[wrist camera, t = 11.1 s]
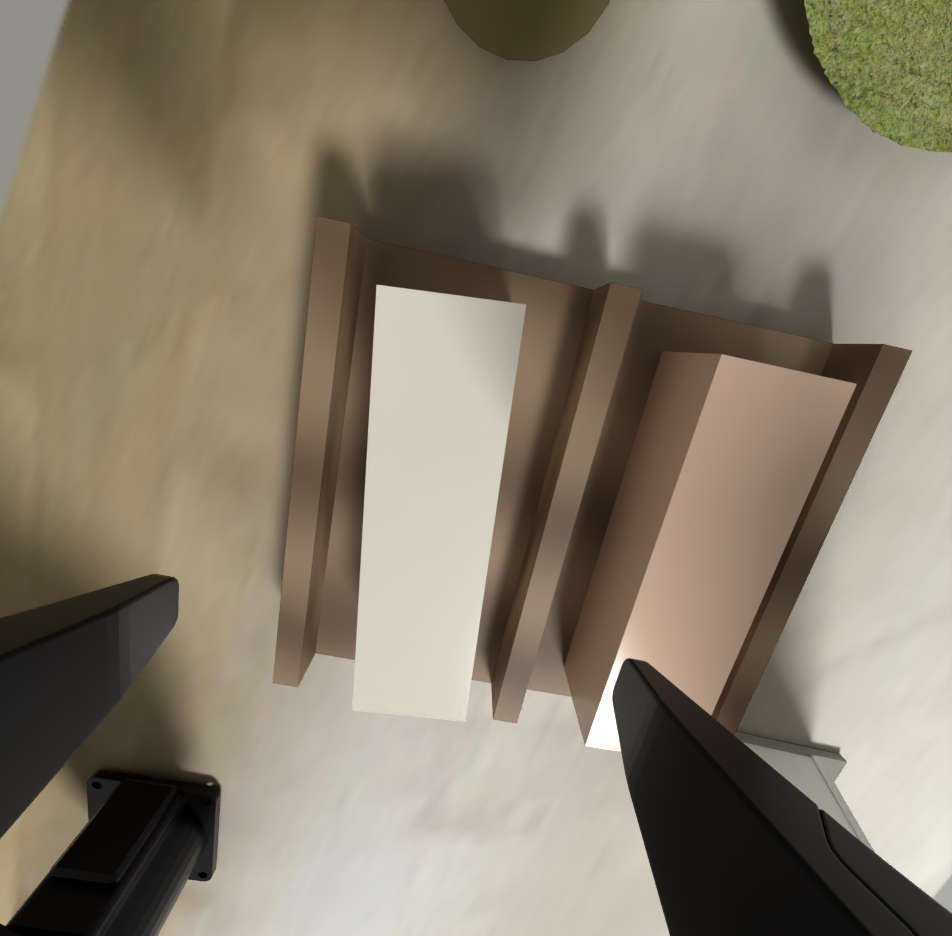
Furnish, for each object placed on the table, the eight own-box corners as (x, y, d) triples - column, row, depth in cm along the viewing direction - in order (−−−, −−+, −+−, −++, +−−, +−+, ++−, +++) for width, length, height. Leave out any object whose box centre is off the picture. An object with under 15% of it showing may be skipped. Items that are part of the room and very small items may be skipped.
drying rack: (688, 698, 22) (723, 757, 19) (303, 632, 21) (272, 682, 18) (833, 349, 17) (912, 350, 14) (347, 240, 16) (316, 216, 13)
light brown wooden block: (649, 682, 20) (690, 763, 16) (563, 666, 20) (585, 745, 16) (765, 374, 16) (857, 383, 12) (662, 351, 16) (721, 354, 12)
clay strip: (467, 646, 19) (465, 721, 16) (376, 636, 19) (352, 710, 15) (513, 313, 16) (526, 304, 12) (401, 299, 15) (376, 284, 12)
